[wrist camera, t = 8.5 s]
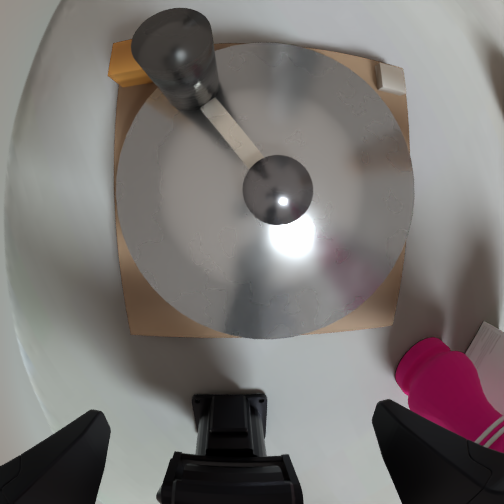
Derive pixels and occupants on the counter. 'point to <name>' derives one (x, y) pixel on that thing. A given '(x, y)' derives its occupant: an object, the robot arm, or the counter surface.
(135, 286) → the dial base
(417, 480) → the robot arm
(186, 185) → the dial
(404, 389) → the pepper mill
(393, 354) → the counter surface
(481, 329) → the skincare box
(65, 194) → the counter surface
